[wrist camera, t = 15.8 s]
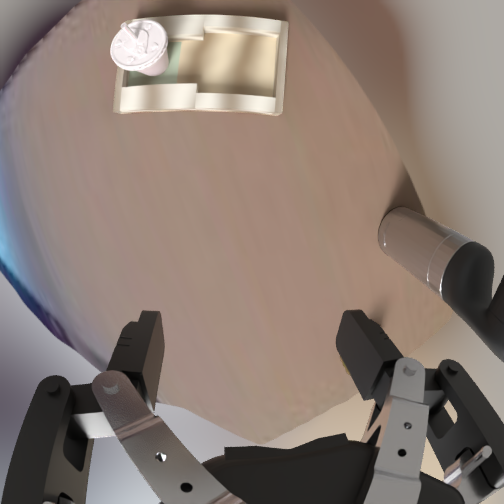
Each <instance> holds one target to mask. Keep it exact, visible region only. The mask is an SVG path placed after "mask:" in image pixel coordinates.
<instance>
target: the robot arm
mask: <svg viewBox="0 0 504 504" xmlns="http://www.w3.org/2000/svg"><path fill="white" fill-rule="evenodd" d="M378 241H379V245H380V247H381V249H382V250H383V251H384V252H385V253H386V254H387V255H388V256H390V257H391V258H392V259H394V260H395V261H396V262H397V263H399V264H400V265H401V266H402V267H404V268H405V269H406V270H407V271H409V272H410V273H411V274H412V275H414V276H415V277H416V278H417V279H418V280H420V281H421V282H422V283H423V284H425V285H426V286H427V287H428V288H429V289H431V290H432V291H433V292H434V293H435V294H437V295H438V296H439V297H440V298H441V299H442V300H444V301H445V302H446V303H447V304H448V305H449V306H450V307H451V308H452V309H453V310H454V311H455V313H456V314H458V315H459V316H460V317H461V318H462V319H463V320H464V321H465V322H466V323H467V324H468V325H469V326H470V327H471V328H472V329H473V331H475V333H476V334H477V335H478V336H479V337H480V338H481V339H482V341H483V342H484V343H485V344H486V345H487V346H488V347H489V349H490V350H491V351H492V352H493V353H494V354H495V355H496V356H497V357H498V358H499V359H501V360H502V361H503V362H504V275H503V278H502V280H501V283H500V284H499V286H498V288H497V291H496V293H495V295H494V297H493V299H492V283H493V277H494V260H493V256H492V254H491V252H490V251H489V250H488V249H487V248H486V247H484V246H483V245H481V244H479V243H477V242H475V241H473V240H471V239H470V238H468V237H466V236H464V235H462V234H460V233H458V232H456V231H454V230H452V229H450V228H448V227H447V226H445V225H443V224H440V223H438V222H436V221H434V220H432V219H430V218H428V217H426V216H424V215H422V214H420V213H418V212H415V211H413V210H411V209H409V208H406V207H398V208H395V209H393V210H392V211H390V212H389V213H388V214H387V215H386V216H385V218H384V219H383V221H382V223H381V225H380V228H379V233H378ZM336 347H337V350H338V352H339V354H340V356H341V358H342V360H343V362H344V363H345V365H346V367H347V369H348V371H349V373H350V375H351V377H352V379H353V381H354V383H355V384H356V386H357V388H358V390H359V392H360V394H361V396H362V398H363V400H369V399H374V400H375V403H374V405H373V407H372V410H371V414H370V417H369V420H368V423H367V426H366V429H365V432H364V435H363V437H362V439H361V441H360V442H359V441H352V440H348V439H347V437H346V434H345V433H343V434H338V435H333V436H328V437H323V438H318V439H315V440H313V441H310V442H308V443H305V444H303V445H300V446H298V447H295V448H292V449H279V448H269V447H261V446H247V447H225V448H224V449H225V450H224V452H225V453H224V455H221V456H217V457H214V458H212V459H210V460H207V461H205V462H203V463H202V464H200V462H199V461H198V460H197V459H196V458H195V457H194V456H193V455H192V454H191V453H190V452H189V451H188V450H187V448H186V447H185V446H184V445H183V444H182V443H181V441H180V440H179V439H178V438H177V437H176V436H175V435H174V433H173V432H172V431H171V430H170V428H169V427H168V426H167V425H166V424H165V423H164V421H163V420H162V419H161V418H160V417H159V416H155V415H154V414H153V413H154V410H155V403H156V397H157V391H158V385H159V379H160V373H161V367H162V362H163V357H164V348H165V344H164V335H163V327H162V319H161V313H160V311H144V310H143V311H142V312H141V315H140V318H139V320H138V322H132V321H131V322H129V323H128V324H127V325H126V326H125V327H124V328H123V329H122V332H121V334H120V337H119V339H118V342H117V346H116V347H115V349H114V352H113V354H112V357H111V360H110V362H109V365H108V368H107V370H106V371H105V372H102V373H100V374H98V375H97V376H96V377H95V378H94V380H93V382H92V383H90V384H82V385H72V386H71V385H70V383H69V382H68V380H67V379H66V378H64V377H62V376H57V375H53V376H49V377H46V378H45V379H43V380H42V381H41V382H40V383H39V385H38V387H37V389H36V392H35V394H34V396H33V399H32V401H31V403H30V406H29V409H28V411H27V414H26V416H25V419H24V422H23V425H22V427H21V430H20V433H19V436H18V439H17V442H16V445H15V448H14V451H13V455H12V458H11V462H10V466H9V469H8V474H7V477H6V482H5V486H4V491H3V496H2V502H1V504H85V502H86V492H87V484H88V476H89V469H90V462H91V455H92V450H93V444H94V438H101V437H110V436H116V437H117V438H118V440H119V441H120V443H121V445H122V446H123V448H124V450H125V451H126V453H127V454H128V456H129V458H130V459H131V461H132V462H133V463H134V465H135V466H136V468H137V469H138V471H139V472H140V474H141V475H142V476H143V478H144V479H145V480H146V482H147V483H148V484H149V486H150V487H151V488H152V490H153V491H154V492H155V493H156V495H157V496H158V497H159V498H160V500H161V502H160V503H159V504H479V503H480V502H482V501H484V500H485V499H487V498H488V497H489V496H491V495H493V494H494V493H495V492H497V491H498V490H500V489H501V488H502V487H504V424H503V422H502V421H501V419H500V418H499V416H498V415H497V413H496V412H495V410H494V409H493V407H492V406H491V405H490V403H489V402H488V400H487V399H486V397H485V396H484V395H483V393H482V392H481V391H480V389H479V388H478V386H477V385H476V384H475V382H473V380H472V378H471V377H470V376H469V375H468V373H467V372H466V371H465V369H464V368H463V367H462V366H461V365H460V364H459V363H458V362H456V361H454V360H450V359H446V360H443V361H442V362H441V363H440V365H439V366H438V368H437V369H427V368H424V366H423V365H422V364H421V363H420V362H419V361H417V360H415V359H412V358H408V357H403V355H402V354H401V353H400V351H399V350H398V349H397V347H396V346H395V345H394V343H393V342H392V341H391V339H389V337H388V336H387V334H385V332H384V330H383V329H382V328H381V327H380V325H379V324H377V323H376V322H374V321H373V320H371V319H368V317H367V316H366V315H365V313H364V312H363V311H362V310H346V311H345V312H344V313H343V316H342V319H341V323H340V326H339V330H338V333H337V337H336ZM448 400H449V401H450V402H451V404H452V406H453V407H454V409H455V410H456V412H457V416H458V417H457V422H456V423H455V424H454V422H453V421H452V419H451V417H450V416H449V414H448V413H447V411H446V409H445V408H444V405H445V404H446V403H447V401H448ZM426 437H427V438H428V440H429V442H430V444H431V446H432V448H433V450H434V452H435V455H436V457H437V459H438V461H439V463H440V465H441V467H442V469H443V471H444V480H443V481H440V480H438V479H436V478H434V477H432V476H430V475H428V474H425V473H423V472H421V471H420V469H421V463H422V458H423V453H424V447H425V440H426Z"/></svg>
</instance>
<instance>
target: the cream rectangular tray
mask: <svg viewBox="0 0 504 504" xmlns="http://www.w3.org/2000/svg"><path fill="white" fill-rule="evenodd" d="M138 20H153V21H156V22H158V23H159V24H160V25H162V27H163V28H164V29H165V31H166V33H167V36H168V44H167V54H168V60H169V65H168V68H167V69H166V71H165V72H164V73H162V74H161V75H158V76H149V75H146V74H144V73H141V72H138V71H129V70H125V69H122V68H121V67H119V66H118V68H117V75H116V83H115V93H114V104H113V112H116V113H120V114H128V113H141V112H161V111H219V112H239V113H253V114H264V115H274V116H277V115H279V114H282V110H283V97H284V83H285V69H286V54H287V38H288V22H286V21H280V20H273V19H265V18H256V17H246V16H232V15H174V16H161V17H150V18H142V19H134V20H128V21H126V22H125V23H126V24H127V25H128V24H130V23H132V22H135V21H138Z"/></svg>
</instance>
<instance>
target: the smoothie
mask: <svg viewBox="0 0 504 504" xmlns="http://www.w3.org/2000/svg"><path fill="white" fill-rule="evenodd" d="M121 28H122V29H121V30H120V31H119V32H118V33H117V34H116V36H115V37H114V39H113V41H112V44H111V49H110V52H111V57H112V59H113V61H114V62H115V63H116V64H117V65H118V66H119V67H121V68H122V69H125V70H129V71H138V72H141V73H144V74H146V75H149V76H158V75H161V74H162V73H164V72H165V71H166V69H167V68H168V65H169V60H168V54H167V44H168V36H167V33H166V31H165V29H164V28H163V27H162V25H160V24H159V23H158V22H156V21H153V20H138V21H135V22H132V23H130V24H128V25H127V24H126V23H123V24H122V25H121Z"/></svg>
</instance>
